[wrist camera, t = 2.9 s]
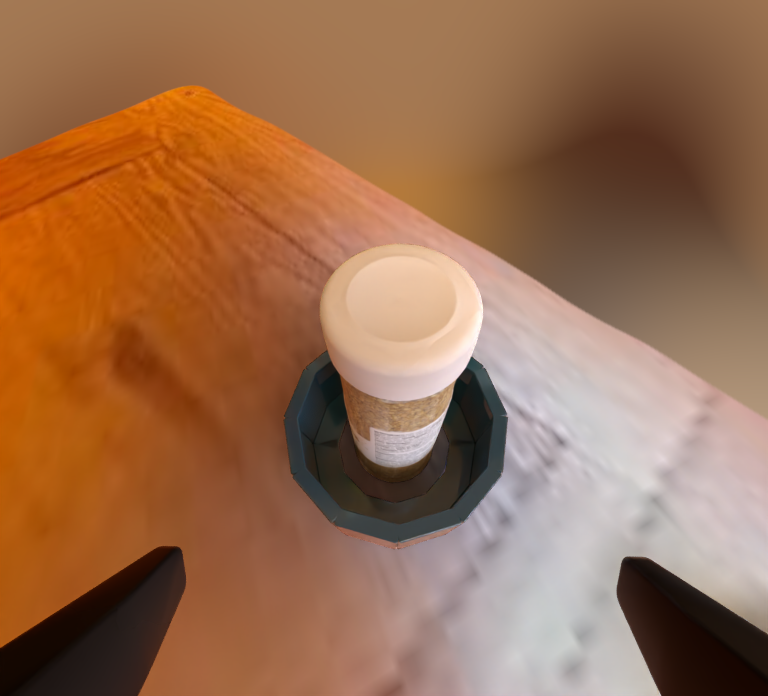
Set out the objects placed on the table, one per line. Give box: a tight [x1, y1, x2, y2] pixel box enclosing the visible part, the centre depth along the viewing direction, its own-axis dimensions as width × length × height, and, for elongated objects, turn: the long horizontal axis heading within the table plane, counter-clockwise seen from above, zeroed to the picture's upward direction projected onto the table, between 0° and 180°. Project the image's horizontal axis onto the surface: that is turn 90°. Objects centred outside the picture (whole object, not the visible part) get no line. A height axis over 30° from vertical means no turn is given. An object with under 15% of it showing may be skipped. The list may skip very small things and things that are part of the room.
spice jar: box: [320, 244, 483, 483], centre depth 16 cm, size 5×5×14 cm
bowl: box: [284, 350, 508, 549], centre depth 19 cm, size 10×10×4 cm
